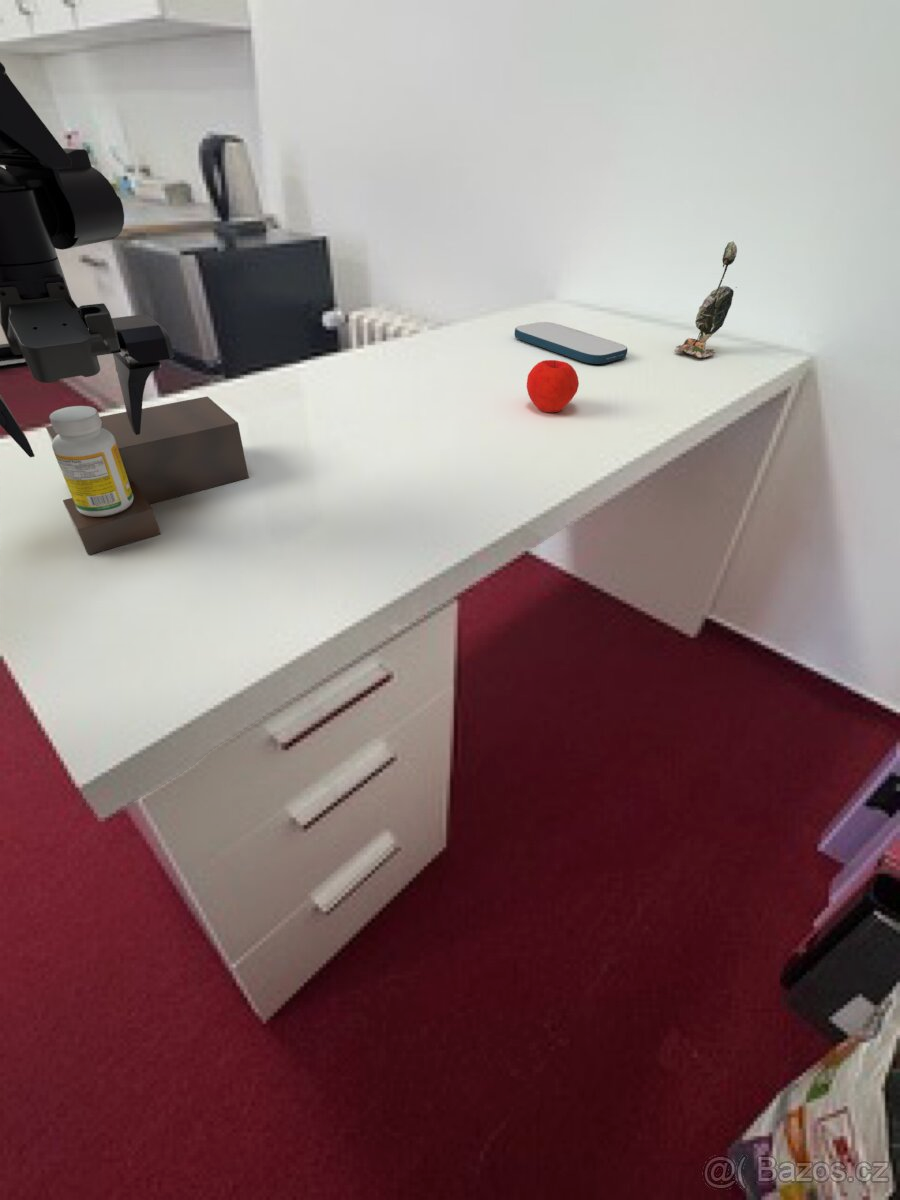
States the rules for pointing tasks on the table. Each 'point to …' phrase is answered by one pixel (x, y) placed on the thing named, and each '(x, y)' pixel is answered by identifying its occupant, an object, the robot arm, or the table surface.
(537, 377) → the apple
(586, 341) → the external hard drive
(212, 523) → the table surface
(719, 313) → the plant with pod
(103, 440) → the supplement bottle
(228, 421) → the step shelf
